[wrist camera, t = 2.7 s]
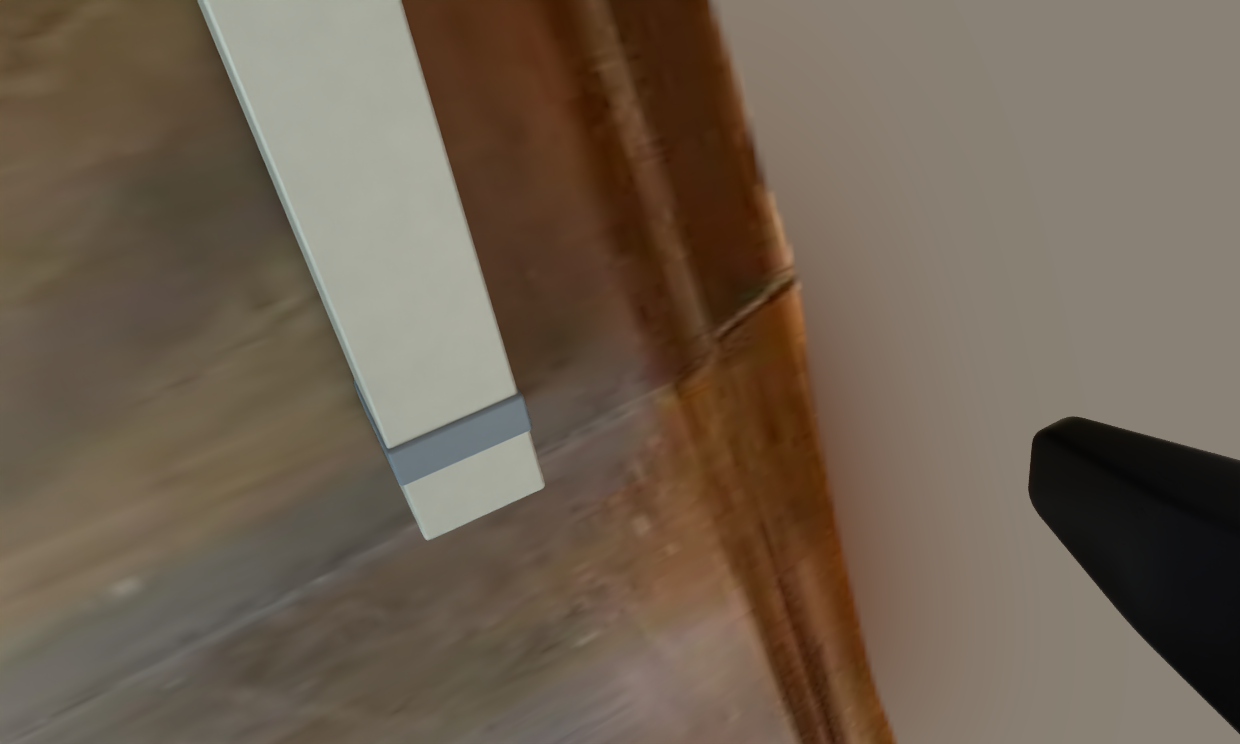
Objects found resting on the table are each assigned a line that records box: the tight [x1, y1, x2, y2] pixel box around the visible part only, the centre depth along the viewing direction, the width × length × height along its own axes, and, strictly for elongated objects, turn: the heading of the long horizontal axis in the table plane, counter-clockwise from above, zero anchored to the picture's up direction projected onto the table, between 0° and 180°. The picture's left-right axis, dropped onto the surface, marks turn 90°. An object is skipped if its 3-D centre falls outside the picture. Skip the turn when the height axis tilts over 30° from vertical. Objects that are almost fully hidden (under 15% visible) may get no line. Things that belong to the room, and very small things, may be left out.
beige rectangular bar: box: [197, 0, 545, 540], centre depth 17 cm, size 2×11×2 cm, turn 11°
